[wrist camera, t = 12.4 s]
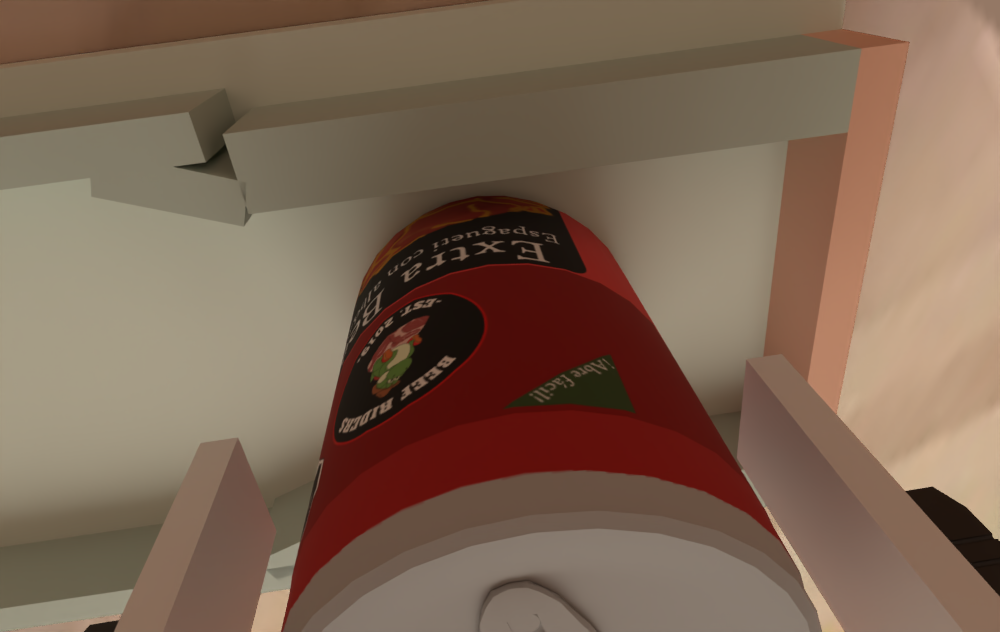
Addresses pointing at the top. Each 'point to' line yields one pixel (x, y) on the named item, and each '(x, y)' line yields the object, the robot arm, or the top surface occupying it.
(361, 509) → the canned food
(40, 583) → the grey miter box
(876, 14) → the top surface
